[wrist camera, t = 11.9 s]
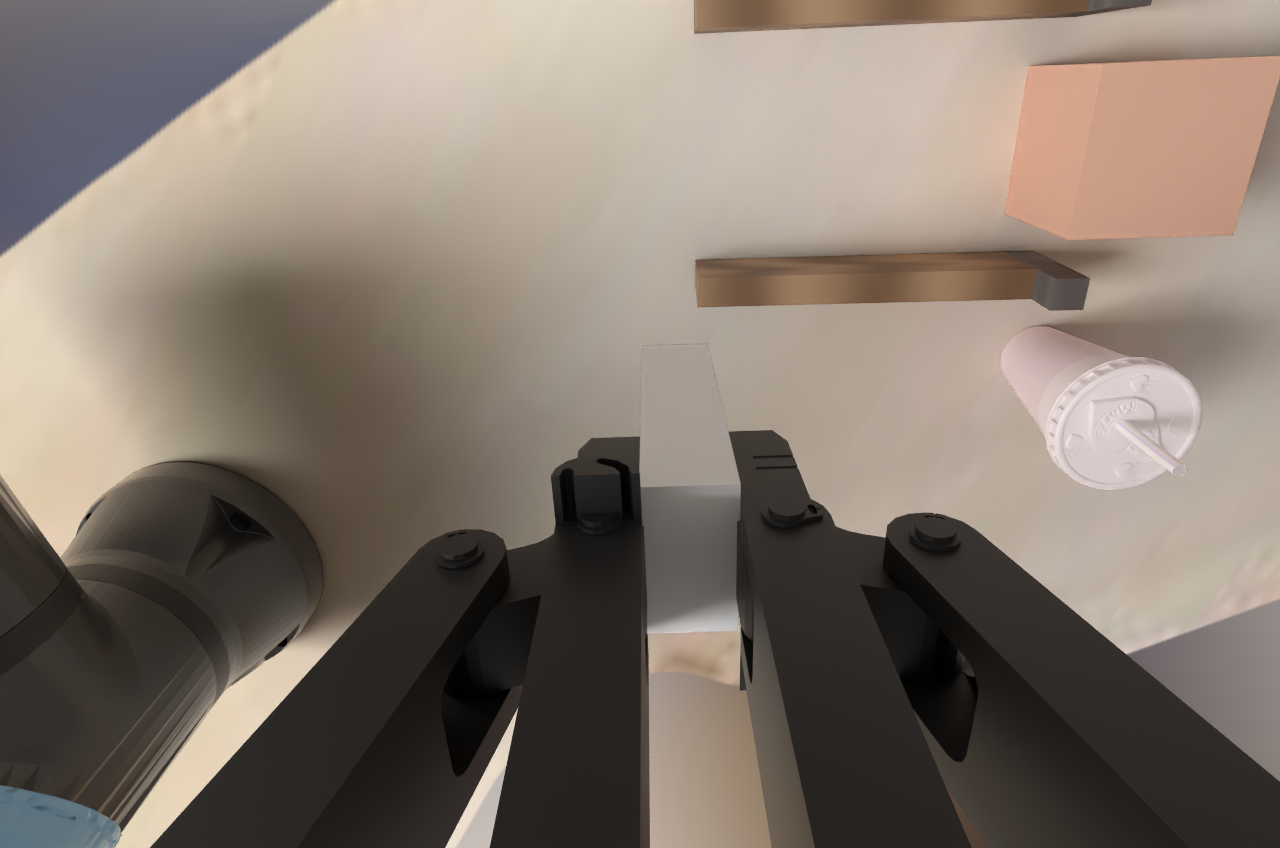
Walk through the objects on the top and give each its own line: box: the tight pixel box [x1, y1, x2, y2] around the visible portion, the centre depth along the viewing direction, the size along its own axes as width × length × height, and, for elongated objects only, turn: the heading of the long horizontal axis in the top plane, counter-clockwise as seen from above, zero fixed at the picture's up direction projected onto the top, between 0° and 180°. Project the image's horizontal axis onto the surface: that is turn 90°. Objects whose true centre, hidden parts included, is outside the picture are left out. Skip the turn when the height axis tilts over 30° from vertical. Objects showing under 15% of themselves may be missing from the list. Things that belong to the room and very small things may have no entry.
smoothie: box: [1000, 326, 1202, 490], centre depth 36 cm, size 6×6×14 cm
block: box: [1004, 56, 1280, 240], centre depth 34 cm, size 7×7×7 cm
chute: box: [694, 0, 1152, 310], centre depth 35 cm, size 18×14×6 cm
